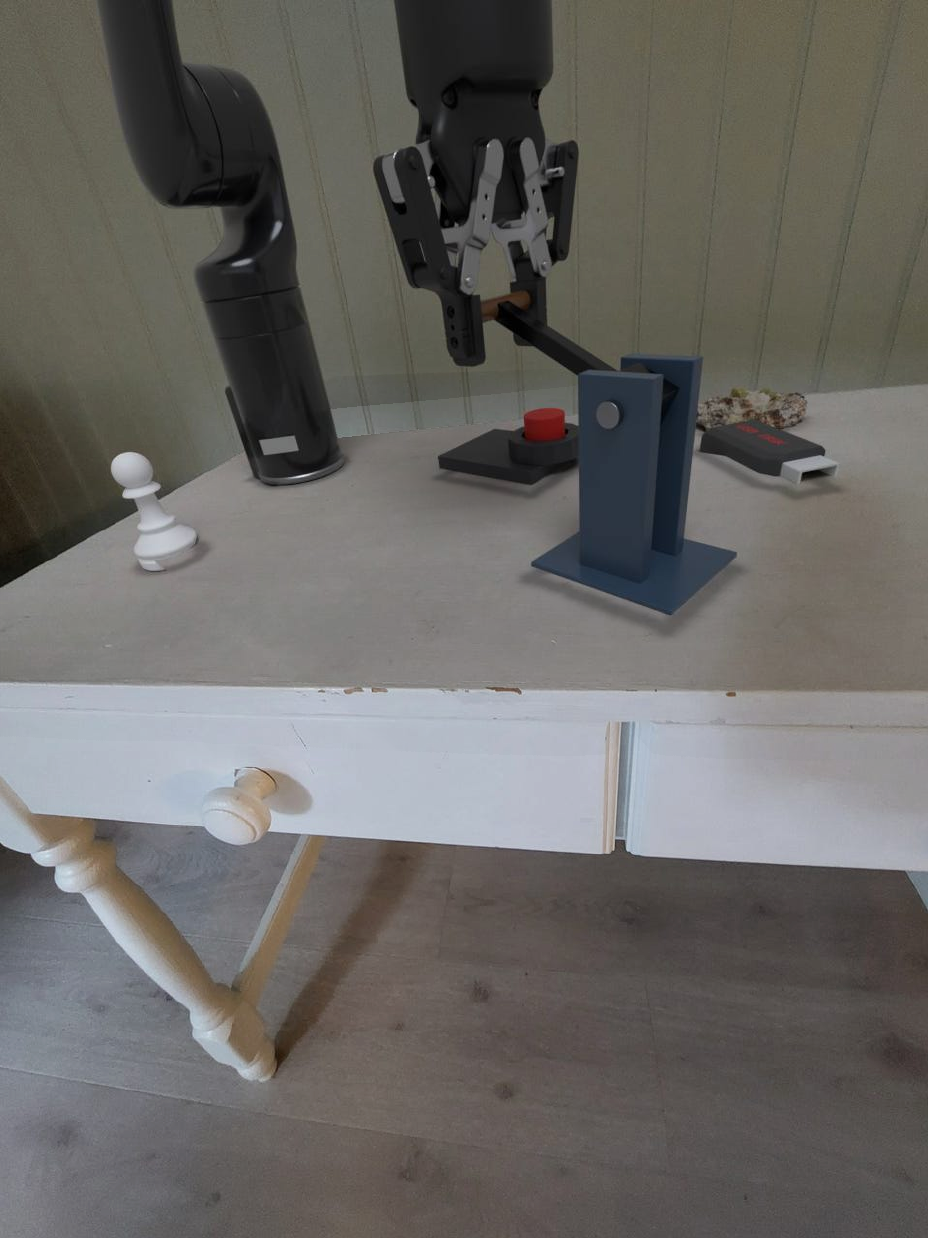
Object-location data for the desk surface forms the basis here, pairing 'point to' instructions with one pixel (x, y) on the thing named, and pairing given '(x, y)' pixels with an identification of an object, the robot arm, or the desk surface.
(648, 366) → the stand
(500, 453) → the box
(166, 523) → the chess pawn
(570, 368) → the switch lever
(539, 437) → the red button
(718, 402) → the mineral rock
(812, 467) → the usb drive
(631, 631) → the desk surface
